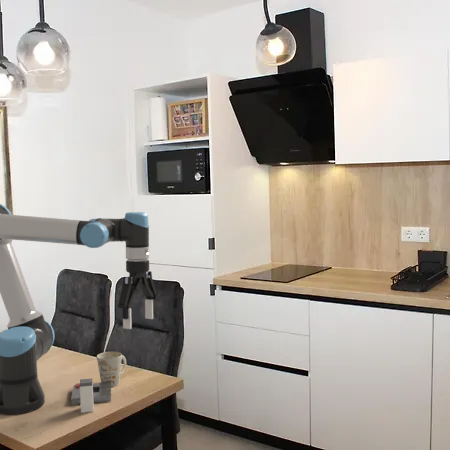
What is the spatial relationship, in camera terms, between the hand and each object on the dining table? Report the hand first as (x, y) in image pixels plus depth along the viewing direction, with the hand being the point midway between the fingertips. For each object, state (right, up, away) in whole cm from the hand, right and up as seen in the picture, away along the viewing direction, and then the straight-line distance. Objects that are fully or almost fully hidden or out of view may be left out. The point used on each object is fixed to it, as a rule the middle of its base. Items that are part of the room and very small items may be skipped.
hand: (138, 323), depth 191 cm
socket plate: (-15, -23, -4) cm, 27 cm away
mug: (-10, -22, +8) cm, 25 cm away
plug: (-13, -24, -15) cm, 31 cm away
